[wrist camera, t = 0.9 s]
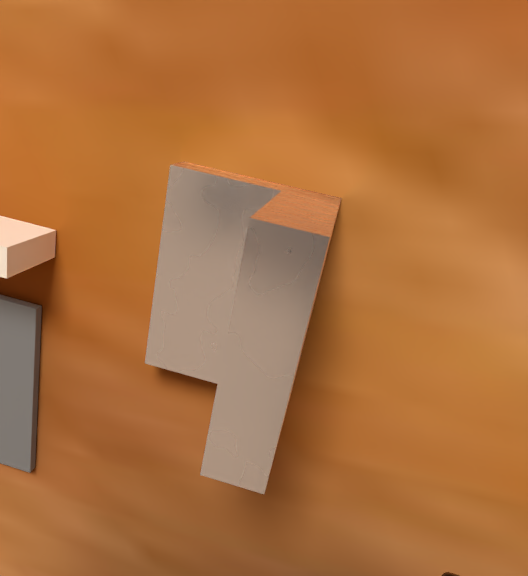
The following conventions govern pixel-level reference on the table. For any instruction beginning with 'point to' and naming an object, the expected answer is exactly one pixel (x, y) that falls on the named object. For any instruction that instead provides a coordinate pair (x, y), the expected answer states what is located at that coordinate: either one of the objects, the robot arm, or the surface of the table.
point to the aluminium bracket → (238, 304)
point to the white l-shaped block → (24, 246)
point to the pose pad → (19, 381)
